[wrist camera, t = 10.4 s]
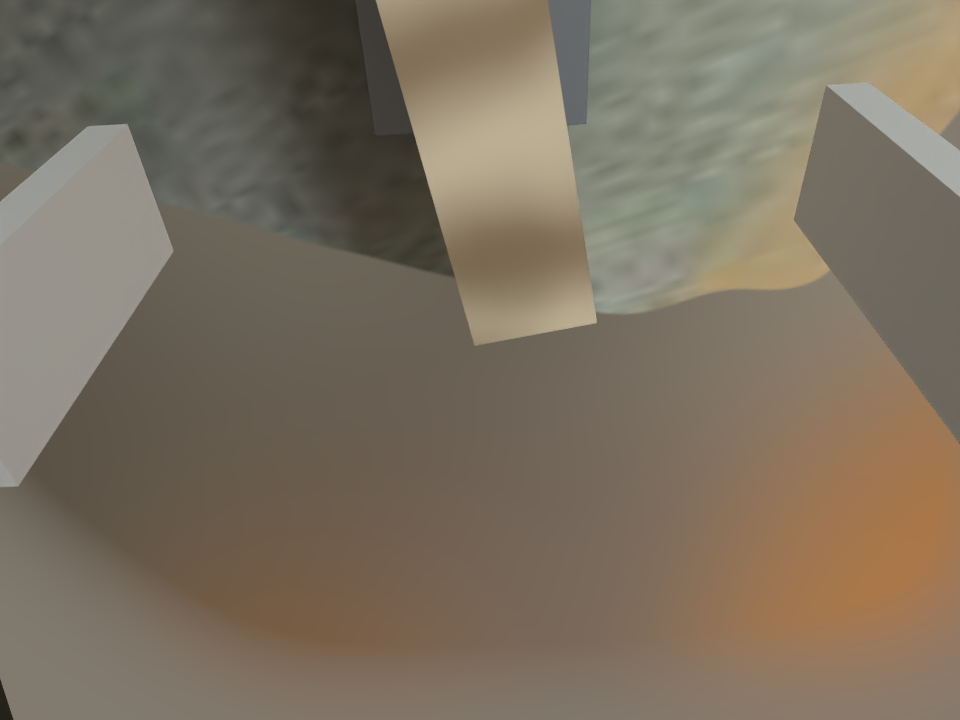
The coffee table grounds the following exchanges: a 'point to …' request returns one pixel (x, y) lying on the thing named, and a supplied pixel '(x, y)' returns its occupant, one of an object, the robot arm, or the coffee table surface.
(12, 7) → the coffee table surface
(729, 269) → the coffee table surface
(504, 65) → the beam
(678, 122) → the coffee table surface
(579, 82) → the fulcrum
